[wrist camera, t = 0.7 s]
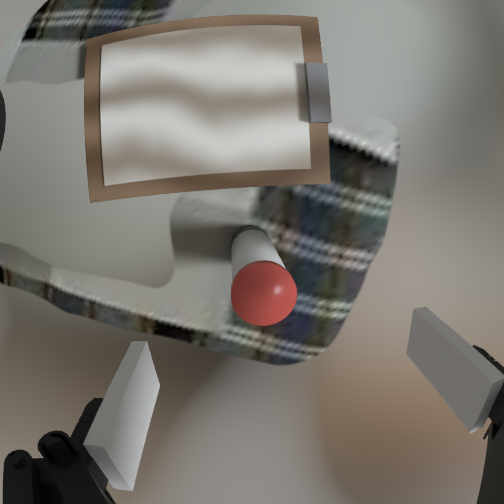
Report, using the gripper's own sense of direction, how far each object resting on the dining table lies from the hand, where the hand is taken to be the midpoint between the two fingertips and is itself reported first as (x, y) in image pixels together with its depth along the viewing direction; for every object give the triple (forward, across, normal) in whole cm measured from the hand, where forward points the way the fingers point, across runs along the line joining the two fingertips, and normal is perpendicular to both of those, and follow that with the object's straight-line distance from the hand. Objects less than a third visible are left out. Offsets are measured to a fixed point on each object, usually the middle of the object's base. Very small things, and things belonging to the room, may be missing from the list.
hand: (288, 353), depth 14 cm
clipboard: (+19, -4, +16) cm, 25 cm away
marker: (+19, -1, 0) cm, 19 cm away
